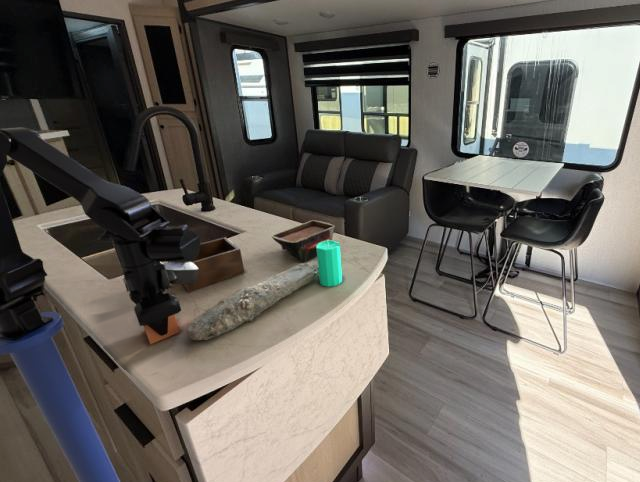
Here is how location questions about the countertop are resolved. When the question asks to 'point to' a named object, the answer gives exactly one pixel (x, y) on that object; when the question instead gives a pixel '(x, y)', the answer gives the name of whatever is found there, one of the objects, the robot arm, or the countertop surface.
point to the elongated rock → (250, 302)
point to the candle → (329, 263)
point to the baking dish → (304, 239)
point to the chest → (216, 263)
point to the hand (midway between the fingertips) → (161, 328)
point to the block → (172, 330)
